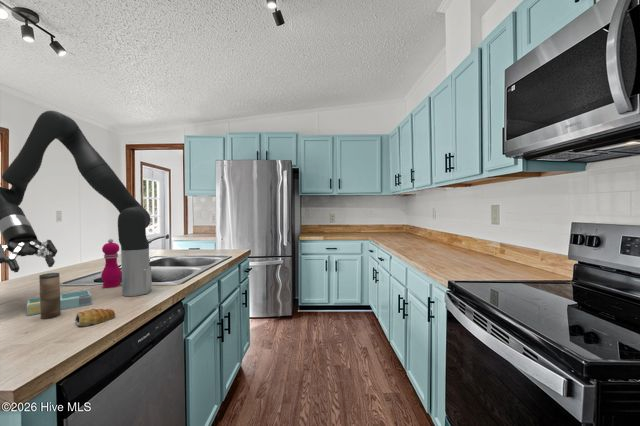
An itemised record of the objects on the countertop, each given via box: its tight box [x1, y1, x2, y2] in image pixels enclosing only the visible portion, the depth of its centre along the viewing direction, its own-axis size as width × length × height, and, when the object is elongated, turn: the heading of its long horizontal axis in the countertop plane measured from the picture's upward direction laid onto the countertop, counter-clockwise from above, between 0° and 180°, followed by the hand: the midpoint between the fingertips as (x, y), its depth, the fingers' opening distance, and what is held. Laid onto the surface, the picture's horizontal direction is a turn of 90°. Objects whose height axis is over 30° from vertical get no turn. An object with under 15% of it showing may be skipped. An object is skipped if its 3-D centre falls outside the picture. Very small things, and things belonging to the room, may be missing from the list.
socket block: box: [26, 289, 92, 317], centre depth 102 cm, size 16×10×3 cm, turn 132°
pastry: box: [74, 308, 116, 327], centre depth 89 cm, size 9×7×4 cm
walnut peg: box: [38, 272, 62, 320], centre depth 93 cm, size 5×5×13 cm
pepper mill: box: [100, 238, 122, 289], centre depth 128 cm, size 7×7×20 cm
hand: (35, 268), depth 97 cm, fingers open, 8 cm apart
